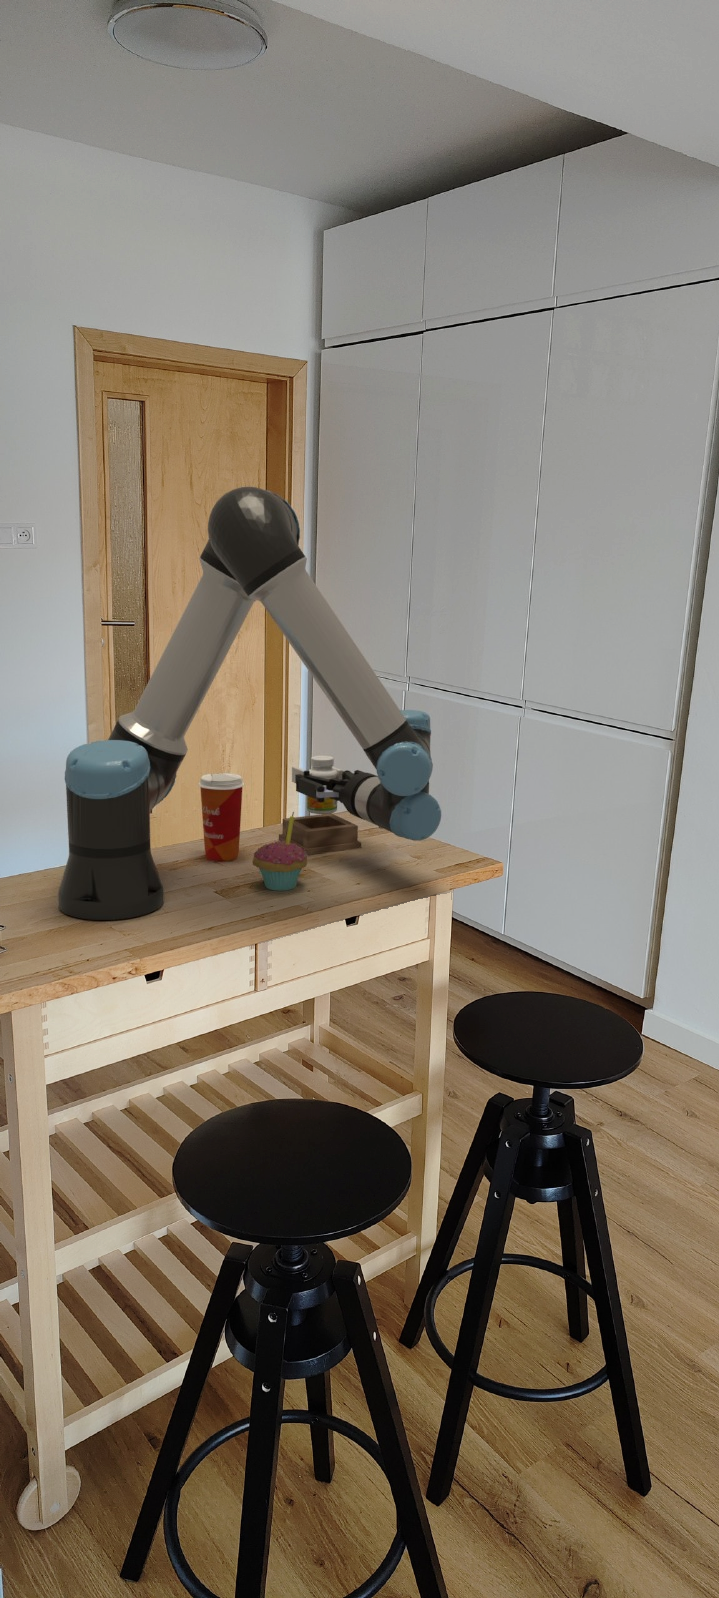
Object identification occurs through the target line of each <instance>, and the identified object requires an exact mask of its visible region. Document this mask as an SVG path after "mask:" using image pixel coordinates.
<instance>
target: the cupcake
mask: <svg viewBox="0 0 719 1598" xmlns="http://www.w3.org/2000/svg"><path fill="white" fill-rule="evenodd" d="M294 813H295V811H292V813H291V816H289V818H290V820H289V826H288V832H287V838H286V842H285V841H280V840H278V841H274V842H271V843H268V844H264V845H262V846H261V847H259V848H257V850H256V851H255V852H254V853H253V858H252V861H251V862H252V865H253V866H254V867H256V868H258V870H259V871H260V874H261V876H262V879H263V883H264V886H265V888H267V889H268V890H272V891H278V892H279V891H280V892H281V891H282V892H283V891H284V892H285V891H289V890H293V889H295V888H296V886H297V882H298V880H299V877H300V873H301V872H302V869H304V868H306V867H307V865H308V855H307V853H306V851H304V850H305V849H304V850H303V849H302V848H301V847H299V846H298V845H295V844H293V843H290V839H291V833H292V827H293V821H294Z"/></svg>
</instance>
